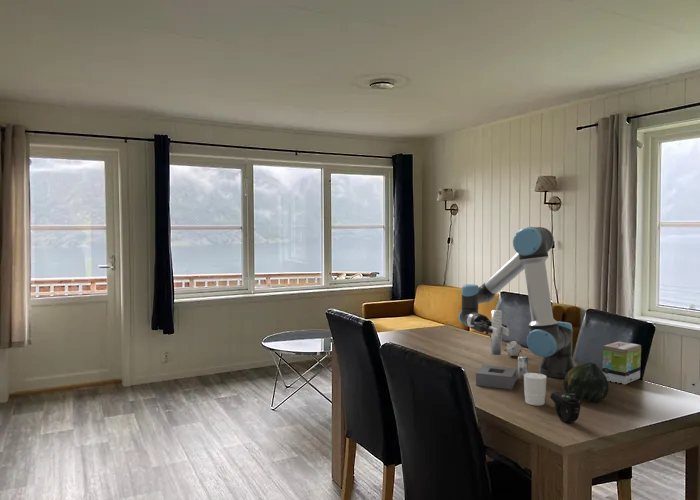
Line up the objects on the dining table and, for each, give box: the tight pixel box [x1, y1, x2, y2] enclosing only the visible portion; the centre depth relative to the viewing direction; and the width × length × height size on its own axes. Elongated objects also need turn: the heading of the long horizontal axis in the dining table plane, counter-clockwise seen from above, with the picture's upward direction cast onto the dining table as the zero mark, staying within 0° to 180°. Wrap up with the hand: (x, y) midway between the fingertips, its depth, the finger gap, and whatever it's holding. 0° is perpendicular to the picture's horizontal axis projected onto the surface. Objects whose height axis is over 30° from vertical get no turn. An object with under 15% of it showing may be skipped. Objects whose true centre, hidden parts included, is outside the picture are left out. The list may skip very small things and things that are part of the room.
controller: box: [549, 392, 582, 423], centre depth 175 cm, size 4×12×10 cm, turn 14°
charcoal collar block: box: [475, 364, 517, 390], centre depth 219 cm, size 14×14×5 cm
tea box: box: [601, 341, 642, 385], centre depth 223 cm, size 15×10×15 cm, turn 131°
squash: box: [563, 362, 610, 403], centre depth 197 cm, size 14×15×15 cm
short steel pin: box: [517, 355, 529, 381], centre depth 225 cm, size 4×4×9 cm
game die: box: [504, 339, 524, 357], centre depth 264 cm, size 9×8×10 cm
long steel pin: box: [490, 309, 503, 356], centre depth 218 cm, size 4×4×18 cm
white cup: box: [523, 372, 548, 407], centre depth 194 cm, size 8×8×10 cm
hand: (502, 332), depth 213 cm, fingers closed on long steel pin, 4 cm apart
